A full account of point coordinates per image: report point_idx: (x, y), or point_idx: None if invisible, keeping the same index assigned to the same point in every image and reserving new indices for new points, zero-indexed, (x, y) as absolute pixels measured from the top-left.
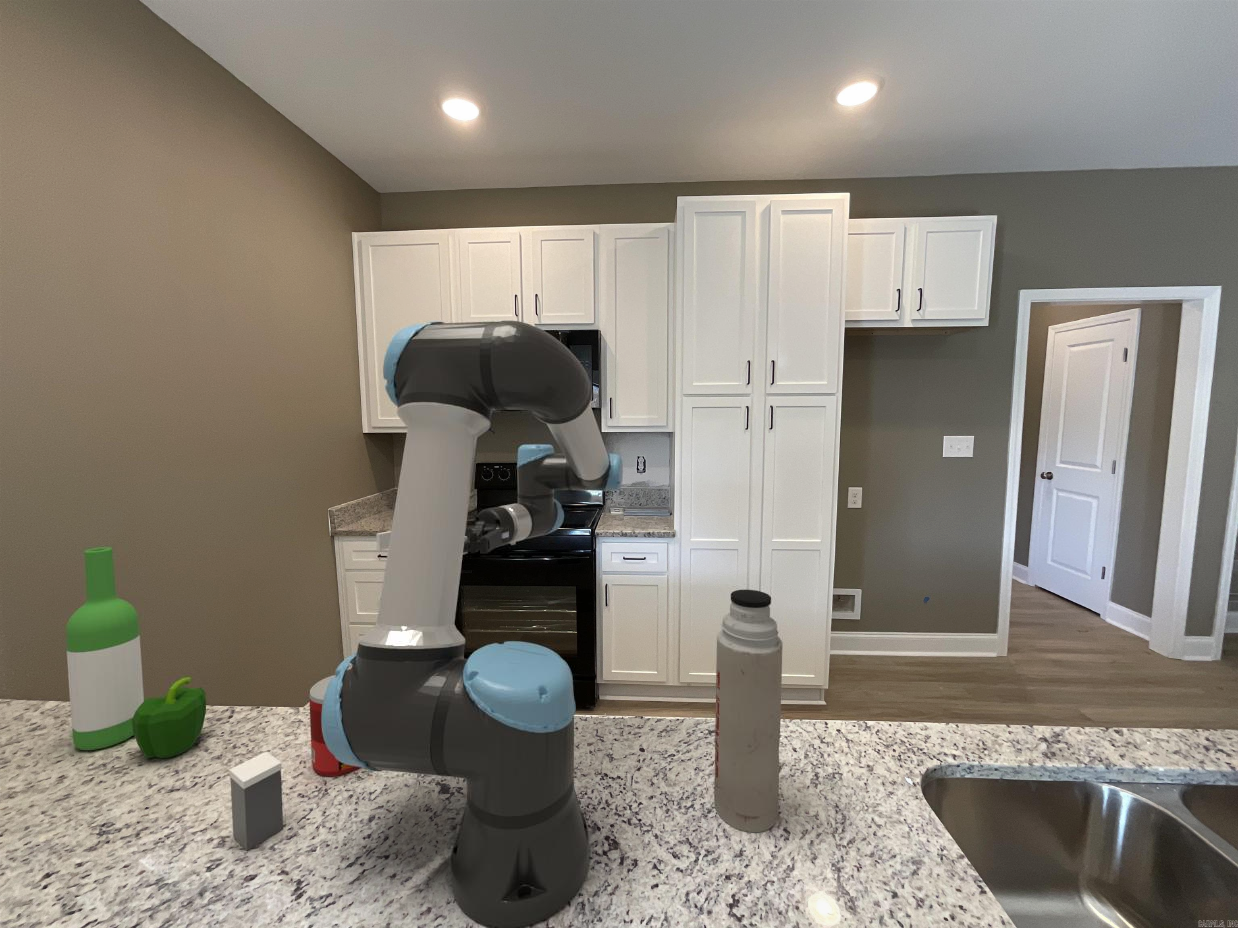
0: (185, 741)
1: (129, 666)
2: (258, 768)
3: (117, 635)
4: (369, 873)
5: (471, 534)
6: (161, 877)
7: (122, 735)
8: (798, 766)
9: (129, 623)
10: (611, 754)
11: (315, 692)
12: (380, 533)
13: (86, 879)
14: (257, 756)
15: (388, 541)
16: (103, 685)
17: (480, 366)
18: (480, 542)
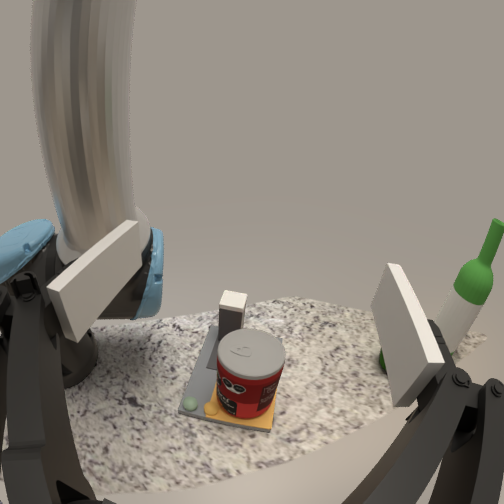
0: (381, 358)
1: (451, 314)
2: (229, 298)
3: (460, 285)
4: (144, 339)
5: (29, 275)
6: (258, 317)
7: None
8: None
9: (469, 285)
10: (7, 443)
11: (265, 336)
12: (393, 267)
13: (292, 309)
14: (243, 304)
15: (384, 307)
16: (441, 311)
17: None
18: (11, 297)
